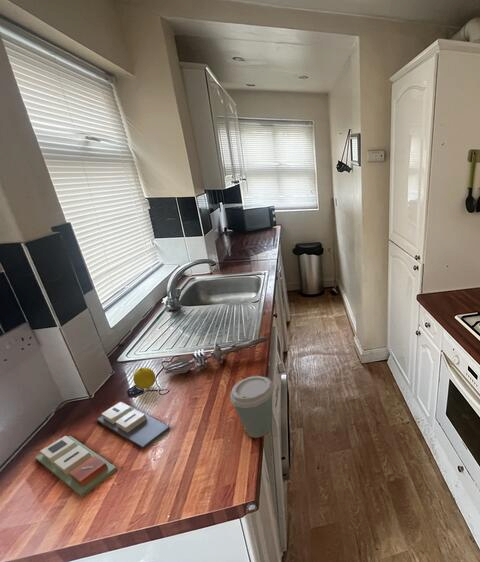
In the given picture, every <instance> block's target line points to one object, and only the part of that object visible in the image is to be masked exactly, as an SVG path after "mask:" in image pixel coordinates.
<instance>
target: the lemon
mask: <svg viewBox="0 0 480 562" xmlns="http://www.w3.org/2000/svg"><path fill="white" fill-rule="evenodd" d="M132 379H133V383H134V385H135V386H136V387H137V388H138V389H142V390H145V389H147V390H148V389H150V388H151V387H153V385H154V384H155V383H156V373H155V372H154V370H153V369H151V368H150V367H146V366H145V367H140V368H138V369H137V370H136V371H135V372H134V374H133V377H132Z"/></svg>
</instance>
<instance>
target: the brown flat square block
mask: <svg viewBox="0 0 480 562" xmlns="http://www.w3.org/2000/svg"><path fill="white" fill-rule="evenodd" d="M106 469H108V467H107V465H106V463H105V462H104V461H102V460H101V459H99V458H98V457H96V456H95V455H94V456H93V457H91V458H90V459H88V460H87V461H85V462H84V463H83V464H81V465H80V466H78V467H77V468H75V469H74V470H73V471H71V472H70V473H69V474H70V476H71V478H72V479H74V480H75V481H76V482H77V483H79V484H80V485H81V486H82V487H84V486H85V485H86V484H88V483H89V482H90V481H92V480H93V479H94V478H96V477H97V476H98V475H100V474H101V473H102V472H104V471H105V470H106Z"/></svg>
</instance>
